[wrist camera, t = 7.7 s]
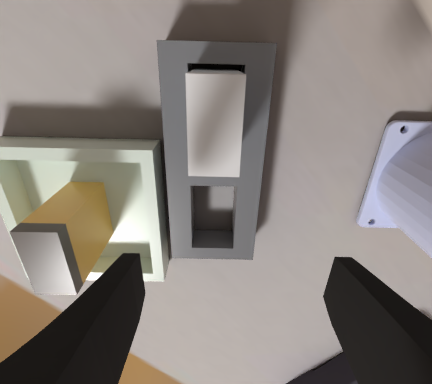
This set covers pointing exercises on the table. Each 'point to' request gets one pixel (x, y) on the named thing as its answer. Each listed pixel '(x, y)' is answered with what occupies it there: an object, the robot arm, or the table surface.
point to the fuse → (214, 121)
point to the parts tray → (92, 172)
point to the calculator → (329, 373)
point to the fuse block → (250, 149)
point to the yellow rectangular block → (64, 238)
